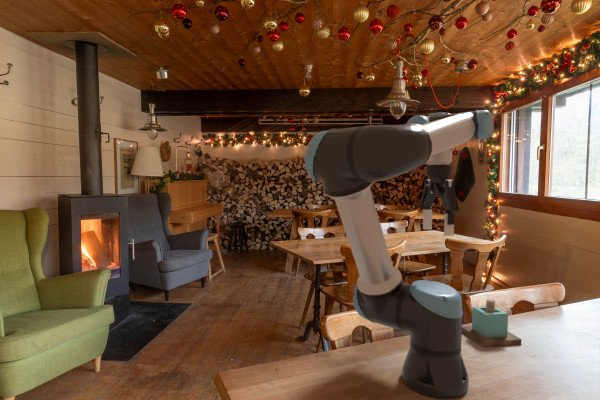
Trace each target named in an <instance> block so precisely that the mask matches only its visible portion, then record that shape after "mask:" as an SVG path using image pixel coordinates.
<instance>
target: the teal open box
mask: <svg viewBox="0 0 600 400" xmlns="http://www.w3.org/2000/svg"><path fill="white" fill-rule="evenodd" d="M471 309H472V315H471V316H472V317H471V321H472V322H471V324H472V325H471V326H472V329H473V330H475V331H476V332H478V333H479V334H481V335H482V336H484V337H485V338H492V337H507V332H509V330H508V329H509V328H508V327H509V324H508V323H509V321H508V320H509V313H508V312H506V311H504V310H502V309H500V308H499V307H497V306H495V313H487V312H486V305H485V306H483V305H482V306H472V308H471Z"/></svg>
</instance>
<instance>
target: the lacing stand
mask: <svg viewBox="0 0 600 400" xmlns="http://www.w3.org/2000/svg"><path fill="white" fill-rule="evenodd" d="M485 306H486V312H487V313H495V307H496V300H494V299H491V298H488V299H487V298H486V300H485ZM462 333H463V334H464V335H466V336H467V337H469V339H471V340H473V341H474V342H475V343H477V344H479V346H481V347H483V348H489V347H502V346H516V345H517V346H518V345H522V339H521V338H520V337H518V336H517V335H515V334H513V333H511V332H509V331H508V332H507V337H492V338H485V337H484V336H482V335H481V334H479V333H478V332H476V331H475V330H473V329H472V325H462Z"/></svg>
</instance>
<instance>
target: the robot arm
mask: <svg viewBox="0 0 600 400" xmlns="http://www.w3.org/2000/svg"><path fill="white" fill-rule="evenodd" d="M494 124H495V123H494V116H493V113H491V111H490V110H487V109H483V110H481V109H480V110H478V109H476V110H474V111H464V112H457V113H456V112H455V113H449V112H433V113H429V114H428V115H427V116H426V115H413V116H412V117H410V118H409V119H408V120H407V122H406V123H405V124H390V125H389V124H377V125H375V124H373V125H372V124H371V125H363V126H353V127H345V128H331V129H329V130H323V131H320V132H317V133H315V135H314V136H313V137H311V139H310V141H309V142H308V144H307V149H306V151H305V153H304V154H305V155H304V165H305V170H306V172H307V175H308V176H309V178H310V179H312V180H314V181H316V182H318V183H321V185H322V187H323V190H324V192H325V194H326V196H327V197H329V198H331V199H334V203H335V205H336V207H337V211H338V213H339V216H340V220H341V223H342V225H343V229H344V232H345V235H346V237H347V241H348V245H349V247H350V250H351V254H352V257H353V259H354V262H355V265H356V268H357V271H358V274H359V276H358V278H357V280H356V283H355V286H354V288H353V294H354V295H353V296H352V301H353V307H354V308H355V311H356V313H357V314H358V315H359V316H360V317H361V318H363V319H365V320H368V321H369V322H371V323H373V324H379V325H382V326H384V327H385V326H386V327H389V328H392V329H396V330H399V331H403V332H405V333H407V334H409V335H410V336H409V337H410V338H409V339H410V340H409V342H410V343H409V349H408V352H407V355H406V357H405V359H404V362H403V364H402V370H401V371H402V372H401V373H402V374H401V375H402V381H403V383H404V384H405V385H406V386H407V387H409V388H410V389H411V390H413V391H415V392H417V393H419V394H421V395H425V396H428V397H430V398H431V397H432V398H436V399H437V398H438V399H453V398H458V397H461V396H464V395H465V394H466V393H467V392H468V391H469V381H470V379H469V374H468V371H467V367H466V365H465V362H464V358H463V355H462V340H463V339H462V335H463V334H462V333H463V332H462V326H463V315H464V310H463V301H462V300H463V299H462V295H461V294H460V292H459V291H457V289H455V288H454V287H452V286H450V285H448V284H445V283H443V282H439V281H434V280H426V279H418V280H415V281H413V282H412V283H411V284H409V283H406V282H404V279H403V276H402V273H401V271H400V269H398V268H397V267H395V266H393V262H392V259H391V256H390V253H389V250H388V246H387V242H386V239H385V235H384V233H383V228H382V226H381V222H380V219H379V214H378V212H377V207H376V204H375V201H374V198H373V194H372V192H371V191H372V190H371V187H372V185H373V184H374V183H375V182H380V181H384V180H385V181H386V180H388V179H392V178H395V177H397V176H401V175H404V174H405V173H408V172H409V173H410V172H411V171H413V170H415V169H418V168H420V167H422V166H424V165H425V164H427V165H426V166H425V176H426V177H428V178H429V179H424V186H423V190H422V194H421V198H420V202H419V207H420V208H421V209H422V210H423V211H422V212H423V213H422V215H423V216H422V230H425V231H426V230H432V229H433V227H432V225H433V207H432V206H433V204H434V202H435V200H436V197H437V196H438V197H439V198H440V200H441V204H442V205H443V207H444V210H445V211H444V215H443V217H444V218H443V219H444V220H443V221H444V223H443V225H444V227H443V235H444V237H447V236H451V237H452V236H455V215H456V213H459V212H460V207H459V201H458V198H457V194H456V189H455V180H453V179H448V178H450V177H452V175H453V174H452V171H453V170H452V169H453V166H452V165H451V163H452V162H453V153H452V152H453V148H456V147H458V146H460V145H463V144H465V143H467V142H469V141H480V140H487V139H490V138H491V136H492V135H493V133H494V126H495V125H494Z"/></svg>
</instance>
